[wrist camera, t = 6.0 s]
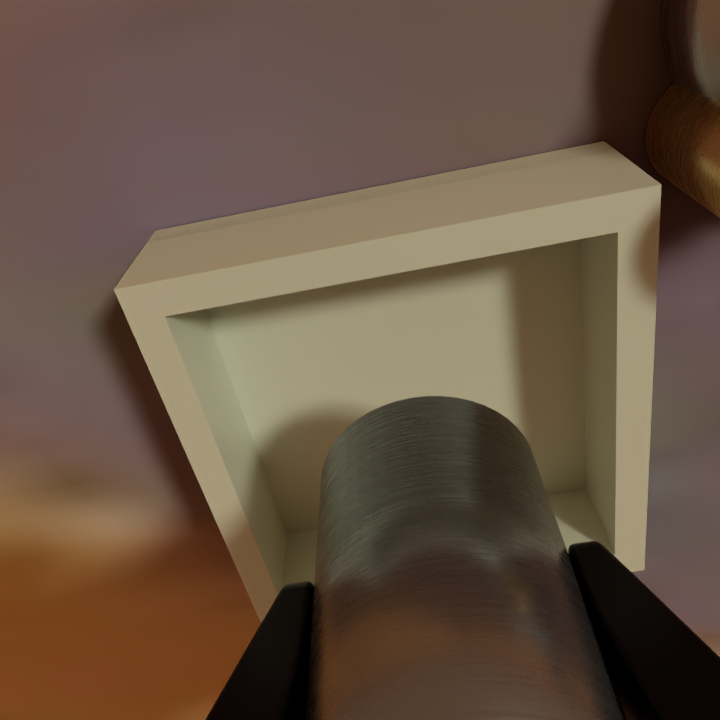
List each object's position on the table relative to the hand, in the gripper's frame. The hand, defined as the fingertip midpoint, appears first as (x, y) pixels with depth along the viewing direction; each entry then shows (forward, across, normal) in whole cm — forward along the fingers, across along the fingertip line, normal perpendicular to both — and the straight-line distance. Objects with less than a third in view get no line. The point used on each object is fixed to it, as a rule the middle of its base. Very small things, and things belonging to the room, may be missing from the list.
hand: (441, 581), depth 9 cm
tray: (+5, 0, 0) cm, 5 cm away
